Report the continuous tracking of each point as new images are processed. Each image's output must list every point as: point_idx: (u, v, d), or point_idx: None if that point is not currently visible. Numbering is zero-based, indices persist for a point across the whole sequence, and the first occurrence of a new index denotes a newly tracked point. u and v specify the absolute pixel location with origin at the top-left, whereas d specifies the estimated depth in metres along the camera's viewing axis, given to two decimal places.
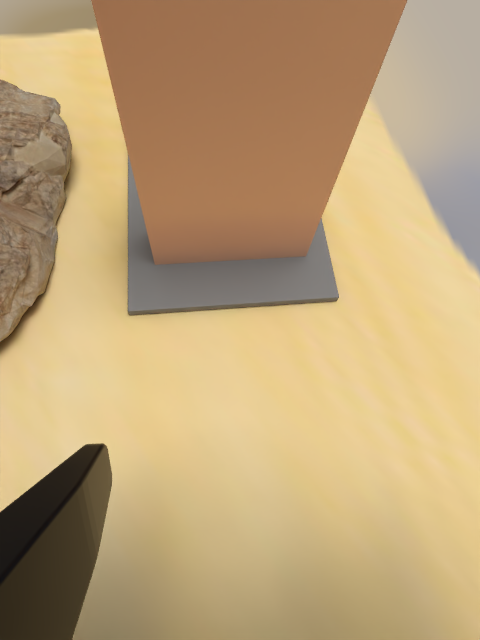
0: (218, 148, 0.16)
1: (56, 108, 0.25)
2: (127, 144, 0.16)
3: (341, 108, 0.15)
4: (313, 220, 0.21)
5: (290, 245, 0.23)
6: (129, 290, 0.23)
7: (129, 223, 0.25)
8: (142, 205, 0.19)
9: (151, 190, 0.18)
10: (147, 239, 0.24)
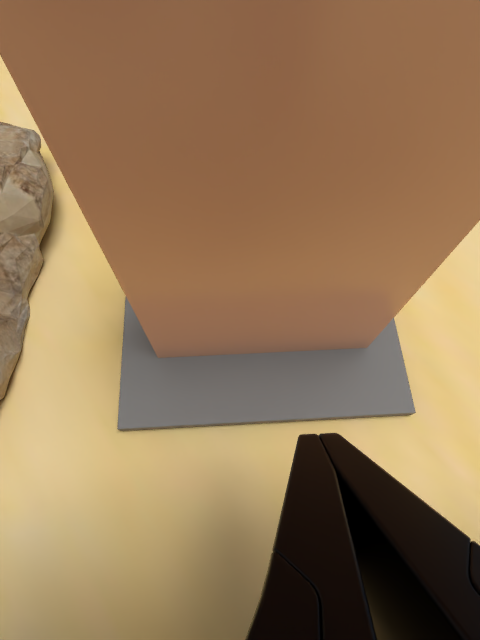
0: (249, 235, 0.10)
1: (33, 143, 0.19)
2: (95, 233, 0.09)
3: (476, 176, 0.08)
4: (386, 314, 0.14)
5: (347, 338, 0.16)
6: (121, 396, 0.17)
7: None
8: (132, 303, 0.12)
9: (143, 287, 0.12)
10: None
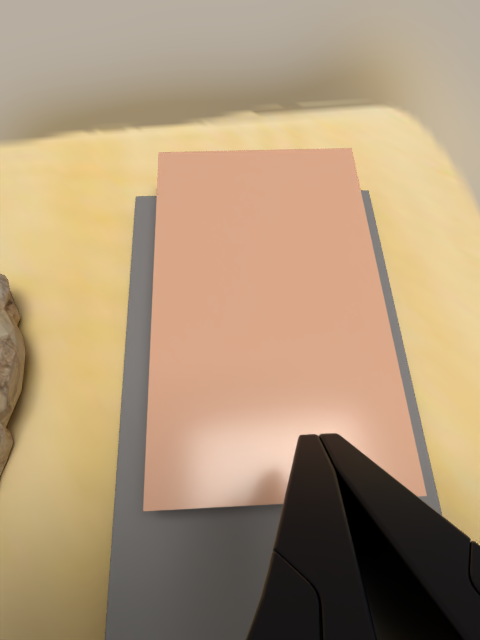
0: (242, 271, 0.16)
1: (0, 300, 0.16)
2: (155, 267, 0.16)
3: (348, 231, 0.17)
4: (393, 388, 0.14)
5: (382, 455, 0.13)
6: None
7: (116, 499, 0.15)
8: (152, 351, 0.15)
9: (167, 326, 0.15)
10: (144, 534, 0.15)
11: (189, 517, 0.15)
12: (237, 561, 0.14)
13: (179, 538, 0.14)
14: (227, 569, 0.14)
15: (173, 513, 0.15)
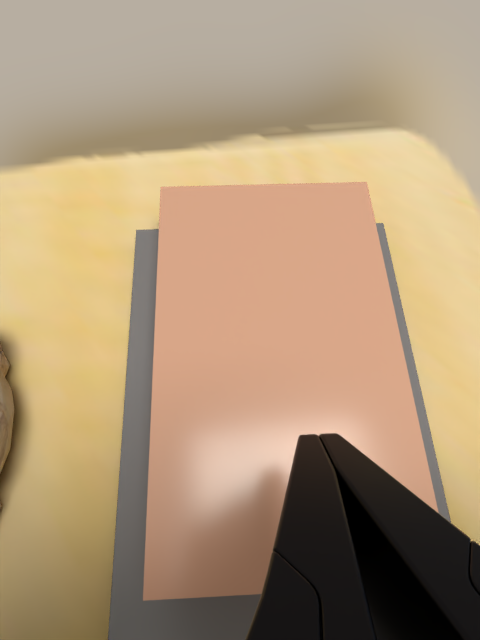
0: (251, 321, 0.15)
1: None
2: (156, 317, 0.15)
3: (364, 276, 0.16)
4: (415, 457, 0.13)
5: None
6: None
7: (114, 571, 0.14)
8: (153, 414, 0.14)
9: (169, 385, 0.14)
10: (144, 613, 0.13)
11: None
12: None
13: (182, 617, 0.13)
14: None
15: None
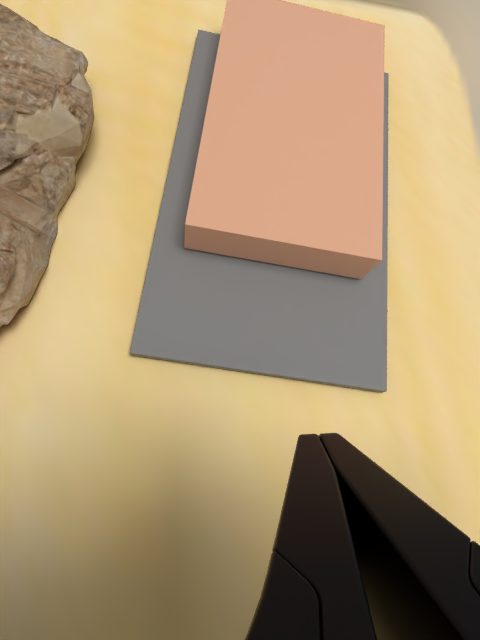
0: (281, 91, 0.21)
1: (82, 66, 0.20)
2: (214, 71, 0.20)
3: (367, 84, 0.22)
4: (375, 193, 0.20)
5: (357, 230, 0.19)
6: (137, 325, 0.18)
7: (155, 236, 0.20)
8: (204, 128, 0.19)
9: (218, 114, 0.20)
10: (173, 263, 0.20)
11: (207, 259, 0.20)
12: (237, 293, 0.20)
13: (198, 270, 0.20)
14: (230, 296, 0.19)
15: (196, 254, 0.20)
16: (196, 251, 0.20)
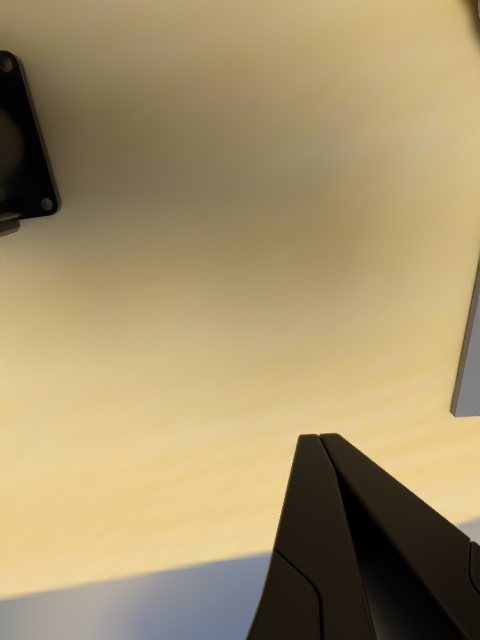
0: None
1: None
2: None
3: None
4: None
5: None
6: None
7: None
8: None
9: None
10: None
11: None
12: None
13: None
14: None
15: None
16: None
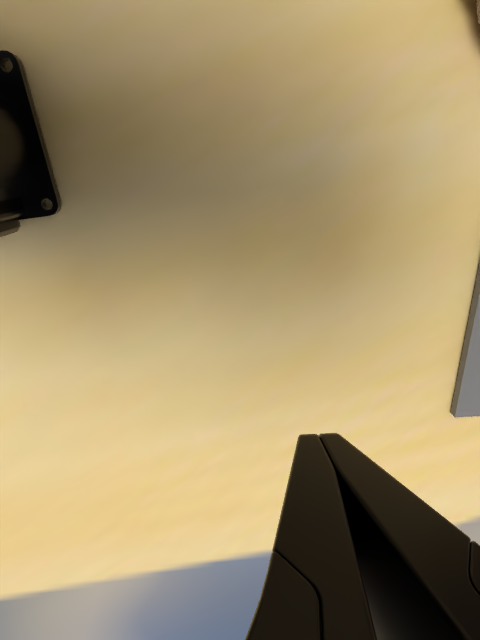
0: None
1: None
2: None
3: None
4: None
5: None
6: None
7: None
8: None
9: None
10: None
11: None
12: None
13: None
14: None
15: None
16: None
